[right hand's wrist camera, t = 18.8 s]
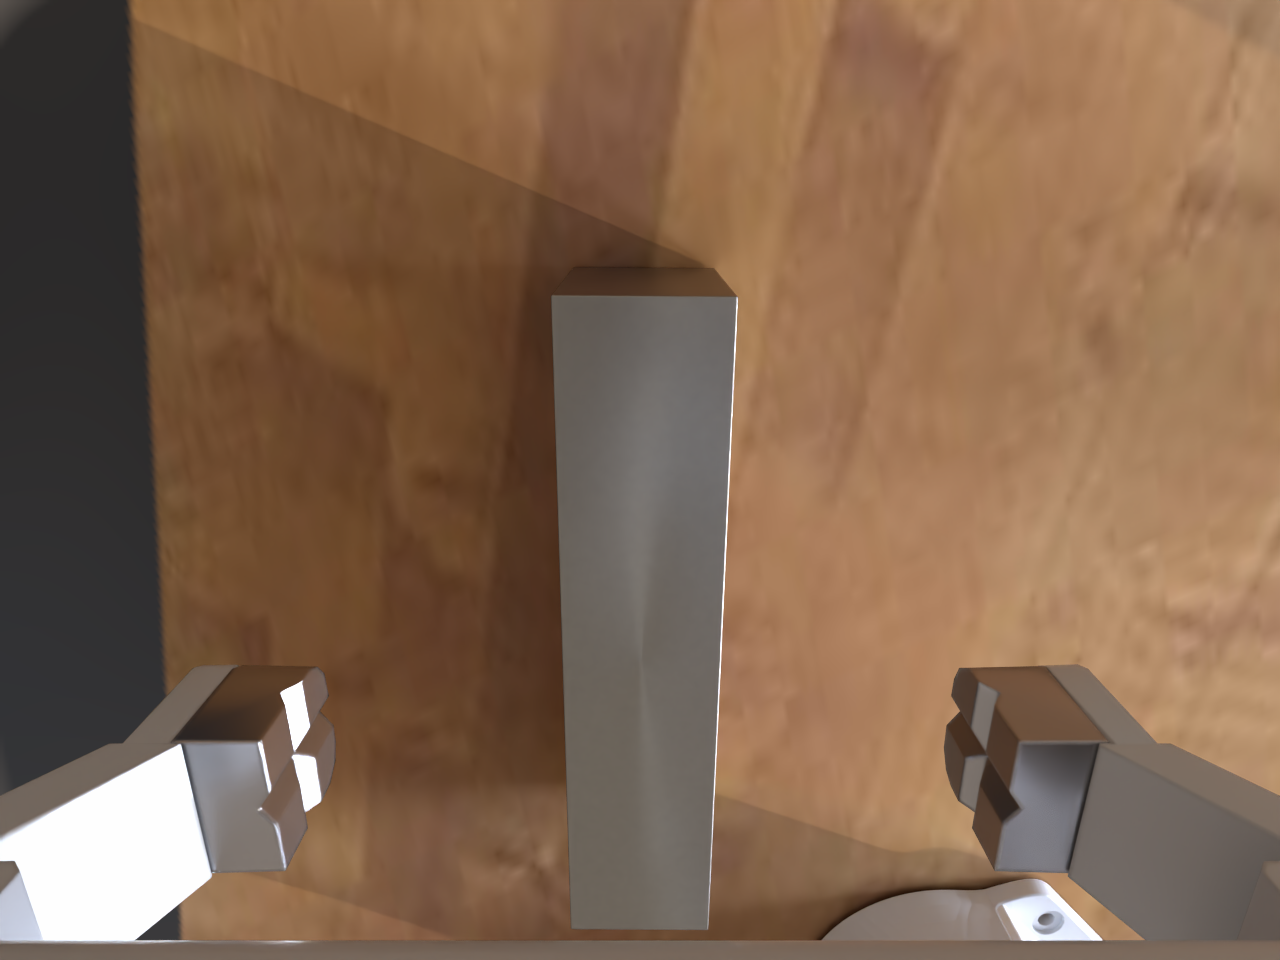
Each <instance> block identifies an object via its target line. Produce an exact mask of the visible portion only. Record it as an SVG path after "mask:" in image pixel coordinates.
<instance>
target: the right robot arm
mask: <svg viewBox="0 0 1280 960" xmlns="http://www.w3.org/2000/svg"><path fill="white" fill-rule="evenodd" d="M328 696H329V695H328V689H327V684H326V679H325V674H324V673H323V672H322V671H321V670H320V669H319V668H318V667H307V666H259V665H242V666H238V665H202V666H198V667H195V668H193V669H192V670H191V671H190V672H189V673H188V674H187V675H186V676H185V677H184V678H183V679H182V680H181V681H180V683H179V684H178V685H177V686H176V687H175V688H174V689H173V690H172V691H171V692H170V693H169V694H168V695H167V696H166V698H165V699H164V700H163V701H162V702H161V703H160V704H159V705H158V706H157V707H156V708H155V709H154V710H153V711H152V713H151V714H150V715H149V716H148V717H147V718H146V719H145V720H144V721H143V722H142V723H141V724H140V725H139V727H138V728H137V729H136V730H135V731H134V732H133V733H132V734H131V735H130V736H129V737H128V738H127V739H126V740H125V742H124V743H123V744H108V745H106V746H104V747H102V748H99V749H97V750H95V751H93V752H91V753H89V754H87V755H85V756H83V757H81V758H78V759H76V760H74V761H72V762H70V763H68V764H66V765H64V766H62V767H60V768H57V769H55V770H53V771H51V772H49V773H47V774H45V775H43V776H41V777H39V778H37V779H34V780H32V781H30V782H28V783H26V784H24V785H22V786H20V787H18V788H16V789H13V790H11V791H9V792H7V793H5V794H3V795H1V796H0V960H1280V796H1279V795H1277V794H1275V793H1273V792H1270V791H1268V790H1266V789H1264V788H1262V787H1260V786H1258V785H1256V784H1254V783H1252V782H1250V781H1247V780H1245V779H1243V778H1241V777H1239V776H1237V775H1235V774H1233V773H1231V772H1229V771H1227V770H1224V769H1222V768H1220V767H1218V766H1216V765H1214V764H1212V763H1210V762H1208V761H1206V760H1204V759H1202V758H1199V757H1197V756H1195V755H1193V754H1191V753H1189V752H1187V751H1185V750H1183V749H1181V748H1179V747H1176V746H1174V745H1172V744H1157V743H1156V741H1155V740H1154V739H1153V738H1152V737H1151V736H1150V735H1149V734H1148V733H1147V732H1146V731H1145V730H1144V729H1143V728H1142V726H1141V725H1140V724H1139V723H1138V722H1137V721H1136V720H1135V719H1134V718H1133V717H1132V716H1131V715H1130V714H1129V712H1128V711H1127V710H1126V709H1125V708H1124V707H1123V706H1122V705H1121V704H1120V703H1119V702H1118V701H1117V700H1116V699H1115V697H1114V696H1113V695H1112V694H1111V693H1110V692H1109V691H1108V690H1107V689H1106V688H1105V687H1104V686H1103V685H1102V683H1101V682H1100V681H1099V680H1098V679H1097V678H1096V677H1095V676H1094V675H1093V674H1092V673H1091V672H1090V671H1089V670H1088V669H1087V668H1085V667H1083V666H1080V665H1078V664H1074V665H1046V666H1026V667H981V668H959V670H958V672H957V674H956V676H955V678H954V683H953V689H952V694H951V696H952V698H953V700H954V701H955V703H956V705H957V706H958V708H959V710H960V712H959V713H958V714H957V715H956V716H955V717H954V718H953V719H952V720H951V721H950V722H949V723H948V724H947V726H946V735H945V743H944V753H945V764H946V771H947V775H948V778H949V781H950V785H951V787H952V789H953V791H954V793H955V795H956V797H957V799H958V801H959V802H961V803H962V804H964V805H965V806H966V807H968V808H969V809H971V810H972V811H974V812H975V814H974V820H973V826H972V829H973V830H974V832H975V834H976V836H977V838H978V840H979V842H980V844H981V846H982V848H983V849H984V851H985V853H986V855H987V857H988V859H989V861H990V863H991V865H992V867H993V868H994V870H995V871H1014V872H1049V873H1068V877H1069V878H1070V879H1072V880H1073V881H1074V882H1075V883H1076V884H1078V885H1079V886H1080V887H1081V888H1083V889H1084V890H1085V891H1086V892H1087V893H1089V894H1090V895H1091V896H1092V897H1094V898H1095V899H1096V900H1097V901H1098V902H1100V903H1101V904H1102V905H1103V906H1105V907H1106V908H1107V909H1108V910H1109V911H1111V912H1112V913H1113V914H1114V915H1116V916H1117V917H1118V918H1119V919H1120V920H1122V921H1123V922H1124V923H1125V924H1127V925H1128V926H1129V927H1130V928H1131V929H1133V930H1134V931H1135V932H1136V933H1138V934H1139V935H1140V936H1141V937H1142V938H1144V939H1145V940H1102V939H1101V938H1100V937H1099V936H1098V935H1097V934H1096V933H1095V932H1094V931H1093V930H1092V928H1091V927H1090V926H1089V925H1088V924H1087V923H1086V922H1085V921H1084V920H1083V919H1082V918H1081V917H1080V916H1079V915H1078V914H1077V913H1076V912H1075V911H1074V910H1073V909H1072V908H1071V907H1070V906H1069V905H1068V904H1067V903H1066V902H1065V901H1064V900H1063V899H1062V898H1061V897H1060V896H1059V895H1058V894H1057V893H1056V892H1055V891H1054V890H1053V889H1052V888H1051V887H1050V886H1049V885H1048V884H1047V883H1045V882H1044V881H1042V880H1039V879H1022V880H1017V881H1012V882H1008V883H1004V884H1001V885H997V886H994V887H990V888H987V889H982V890H927V891H919V892H913V893H907V894H903V895H899V896H895V897H892V898H888V899H885V900H882V901H880V902H877V903H875V904H872V905H870V906H868V907H866V908H864V909H862V910H860V911H858V912H856V913H854V914H853V915H851V916H849V917H848V918H846V919H845V920H843V921H842V922H841V923H839V924H838V925H837V926H836V927H834V928H833V929H832V930H831V931H830V932H829V933H828V934H827V935H826V936H825V937H824V938H823V939H822V940H783V941H546V940H135V939H137V938H138V937H139V936H140V935H141V934H143V933H144V932H145V931H146V930H148V929H149V928H150V927H151V926H152V925H154V924H155V923H156V922H157V921H159V920H160V919H161V918H162V917H164V916H165V915H166V914H167V913H168V912H170V911H171V910H172V909H173V908H175V907H176V906H177V905H178V904H179V903H181V902H182V901H183V900H184V899H186V898H187V897H188V896H189V895H190V894H192V893H193V892H194V891H195V890H197V889H198V888H199V887H200V886H201V885H203V884H204V883H205V882H206V881H208V880H209V879H210V878H211V877H212V874H211V873H230V872H265V871H286V869H287V867H288V865H289V863H290V861H291V859H292V857H293V855H294V853H295V851H296V850H297V848H298V846H299V844H300V842H301V840H302V838H303V836H304V834H305V832H306V830H307V828H308V826H307V820H306V814H305V812H306V811H308V810H309V809H311V808H312V807H314V806H315V805H316V804H318V803H319V802H321V801H322V799H323V797H324V795H325V793H326V791H327V789H328V787H329V785H330V782H331V778H332V773H333V769H334V764H335V754H336V740H335V733H334V726H333V724H332V723H331V722H330V721H329V720H328V719H327V718H326V717H325V716H324V715H323V714H322V713H321V712H320V710H321V708H322V706H323V705H324V703H325V701H326V700H327V698H328Z"/></svg>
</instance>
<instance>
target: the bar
mask: <svg viewBox="0 0 1280 960" xmlns="http://www.w3.org/2000/svg"><path fill="white" fill-rule="evenodd" d="M737 307H738V297H737V295H736V294H735V293H734V292H733V291H732V289H731V288H730V287H729V286H728V285H727V283H726V282H725V281H724V280H723V279H722V277H721V276H720V275H719V274H718V273H717V271H716V270H715V269H714V268H606V267H574V268H573V269H572V270H571V271H570V273H569V274H568V275H567V276H566V278H565V279H564V280H563V282H562V283H561V284H560V285H559V287H558V288H557V289H556V290H555V292H554V293H553V294H552V295H551V313H552V345H553V377H554V408H555V440H556V472H557V503H558V535H559V567H560V598H561V630H562V662H563V693H564V725H565V757H566V788H567V820H568V852H569V883H570V915H571V929H641V930H708V922H709V901H710V880H711V859H712V837H713V816H714V795H715V774H716V753H717V731H718V710H719V689H720V668H721V646H722V625H723V604H724V583H725V562H726V540H727V519H728V498H729V477H730V456H731V434H732V413H733V392H734V371H735V350H736V328H737Z"/></svg>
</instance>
